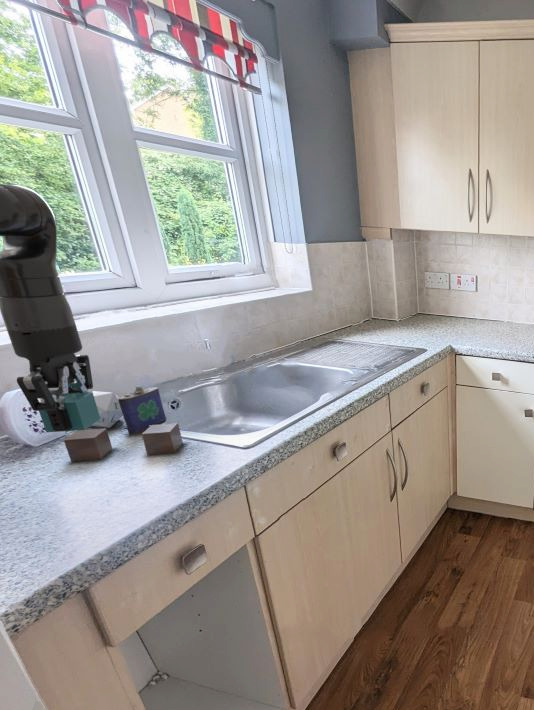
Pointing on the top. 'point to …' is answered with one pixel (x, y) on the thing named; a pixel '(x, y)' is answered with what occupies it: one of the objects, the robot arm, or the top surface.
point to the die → (107, 409)
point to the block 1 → (88, 444)
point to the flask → (142, 409)
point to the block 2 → (162, 438)
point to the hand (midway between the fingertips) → (73, 423)
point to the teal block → (76, 411)
